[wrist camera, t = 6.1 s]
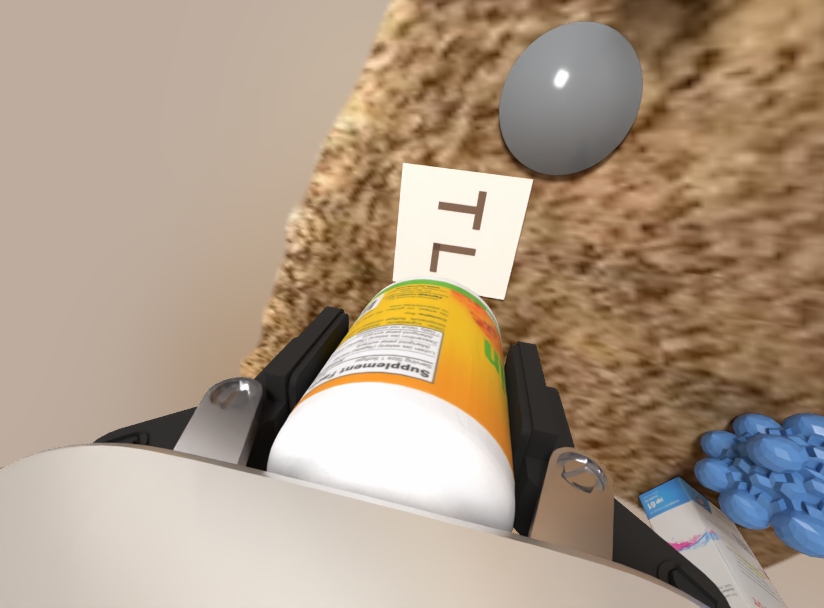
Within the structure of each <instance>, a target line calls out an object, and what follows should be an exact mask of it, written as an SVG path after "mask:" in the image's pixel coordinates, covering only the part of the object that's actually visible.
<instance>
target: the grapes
mask: <svg viewBox="0 0 824 608" xmlns="http://www.w3.org/2000/svg"><path fill="white" fill-rule="evenodd" d="M732 427H733V430H734V432H735V434H736V435H735V434H732V433H730V432H727V431H718V430H713V431H709V432H707V433H705V434H704V435H702V438H701V440H700V443H701V446H702V449H703V451H704V452H705V453H706V454H707V455H708V456H709V457H710V458H704V459H701V460H700V461H698V462H696V464H695V467H694V472H695V476H696V479H697V480H698V481H699V482H700V483H701V484H702V485H703V486H704V487H706V488H708V489H710V490H712V491H715V492H719V493H720V495H719V497H718V502H719V505H720V508H721V511H722V513H723V514H724V515H725V516H726V517H727V518H728V519H729V520H730V521H732V522H734V523H736V524H738V525H740V526H742V527H745V528H748V529H755V530H761V529H765V528H768V527H769V526H771V525H772V526H773V529H774V532H775V534H776V536H777V537H778V538H779V539H780V540H782V541H783V542H784V543H785V544H786V545H787V546H788V547H790V548H792V549H794V550H796V551H798V552H800V553H803V554H805V555H808V556H811V557H818V558H824V417H823V416H820V415H817V414H812V413H798V414H794V415H792V416H790V417H788V418H786V419H784V421H783V424H782V426H781V425H780V424H779V423H777V422H776V421H775V420H773V419H772V418H771V417H768V416H765V415H762V414H752V413H749V414H743V415H740V416H739V417H737V418H735V419H734V421H733V424H732Z"/></svg>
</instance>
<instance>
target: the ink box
mask: <svg viewBox="0 0 824 608" xmlns="http://www.w3.org/2000/svg"><path fill="white" fill-rule="evenodd" d="M639 498H640V501H641V503H642V505H643V508H644V510H645V513H646V515H647V517H648V520H649V522H650V525H651V527H652V530H653V531H654V532H655V533H657V534H658V535H659V536H660V537H661V538H663V539H664V540H665V541H666V542H667V543H669V544H670V545H671V546H672V547H673V548H675V549H676V550H677V551H678V552H679V553H681V554H682V555H683V556H684V557H685V558H687V559H688V560H689V561H690V562H691V563H693V564H694V565H695V566H696V567H697V568H699V569H700V570H701V571H702V572H703V573H704V574H705V575H706V576H707V577H708V578H709V579H711V580H712V581H713V582H714V583H715V584H716V586H717V587H718V588H719V590H720V591H721V592H722V593H723V595H724V596H725V597H726V599H727V601H728V603H729V605H730V607H731V608H787V607H786V605H785V603H784V602H783V600H782V599H781V597H780V595H779V594H778V592H777V591H776V589H775V587H774V586H773V584H772V583H771V581H770V579H769V578H768V576H767V575H766V573H765V572H764V570H763V569H762V567H761V565H760V564H759V562H758V561H757V559H756V557H755V556H754V554H753V553H752V551H751V550H750V548H749V546H748V545H747V543H746V542H745V540H744V539H743V537H742V535H741V534H740V532H739V531H738V529H737V527H736V526H735V524H734V522H732V521H730V520H729V519H728V518H727V517H726V516H725V515H724V514H723V513H722V511H721V510H720V509H718V508H717V507H716V506H715V505H713V504H712V503H711V502H710V501H708V500H707V499H706V498H705V497H704V496H702V495H701V494H700V493H699V492H697V491H696V490H695V489H694V488H693V487H691V486H690V485H689V484H688V483H686V482H685V481H684V480H683V479H681V478H680V477H676V478H674V479H672V480H670V481H668V482H666V483H664V484H662V485H660V486H658V487H656V488H654V489H652V490H650V491H648V492H646V493H644V494H642V495H640V496H639Z"/></svg>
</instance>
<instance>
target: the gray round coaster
mask: <svg viewBox="0 0 824 608" xmlns="http://www.w3.org/2000/svg"><path fill="white" fill-rule="evenodd" d="M642 89H643V79H642V70H641V66H640V62H639V59H638V57H637V54H636V52H635V50H634V49H633V47H632V46H631V44H630V43H629V42H628V41H627V39H626V38H625V37H624V36H623V35H621V34H620V33H619V32H618V31H616V30H614V29H612V28H611V27H609V26H606V25H603V24H600V23H594V22H575V23H569V24H566V25H562V26H559V27H557V28H555V29H553V30H550V31H549V32H547V33H545V34H544V35H542V36H540V37H539V38H538V39H537V40H535V41H534V42H533V43H532V44H531V45H530V46H529V47H528V48H527V49H526V50H525V51H524V52H523V53H522V54H521V56H520V57H519V58H518V59H517V61H516V62H515V64H514V66H513V67H512V69H511V71H510V73H509V75H508V77H507V79H506V82H505V84H504V87H503V90H502V94H501V98H500V106H499V121H500V128H501V132H502V136H503V138H504V141H505V143H506V145H507V147H508V149H509V150H510V152H511V153H512V154H513V156H514V157H515V158H516V159H517V160H518V161H519V162H521V163H522V164H523V165H525V166H526V167H528V168H530V169H532V170H534V171H537V172H539V173H543V174H548V175H567V174H572V173H576V172H579V171H582V170H585V169H587V168H589V167H591V166H593V165H595V164H597V163H598V162H600V161H601V160H603V159H604V158H605V157H607V156H608V155H609V154H610V153H611V152H612V151H613V150H614V149H615V148H616V147H617V146H618V145H619V144H620V143H621V142H622V140H623V139H624V138H625V136H626V135H627V133H628V132H629V130H630V128H631V126H632V124H633V123H634V120H635V118H636V115H637V113H638V110H639V106H640V103H641V97H642Z"/></svg>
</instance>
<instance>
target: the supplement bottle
mask: <svg viewBox="0 0 824 608" xmlns="http://www.w3.org/2000/svg"><path fill="white" fill-rule="evenodd" d="M267 472H270V473H275V474H279V475H283V476H287V477H291V478H295V479H299V480H303V481H307V482H312V483H316V484H320V485H324V486H328V487H332V488H336V489H340V490H344V491H348V492H352V493H356V494H360V495H364V496H368V497H372V498H376V499H380V500H384V501H388V502H392V503H396V504H400V505H404V506H408V507H412V508H416V509H420V510H424V511H428V512H432V513H436V514H440V515H444V516H448V517H452V518H455V519H459V520H463V521H467V522H471V523H475V524H479V525H483V526H487V527H491V528H495V529H499V530H503V531H506V532H510V533H511V532H512V530H513V524H514V518H515V479H514V471H513V460H512V449H511V437H510V426H509V415H508V401H507V393H506V383H505V372H504V361H503V350H502V341H501V335H500V330H499V326H498V323H497V321H496V318H495V316H494V315H493V313H492V311H491V310H490V308H489V307H488V305H487V304H486V303H485V302H484V301H483V300H482V299H481V298H480V297H479V296H478V295H477V294H476V293H475V292H473V291H472V290H470V289H469V288H467V287H466V286H464V285H462V284H460V283H457V282H455V281H452V280H449V279H446V278H441V277H434V276H415V277H409V278H406V279H402V280H400V281H397V282H395V283H393V284H391V285H389V286H387V287H386V288H384V289H383V290H382V291H380V292H379V293H378V294H377V295H376V296H375V297H374V298H373V299H372V300H371V302H370V303H369V304H368V305H367V306H366V308H365V309H364V310H363V312H362V313H361V315H360V316H359V318H358V319H357V321H356V322H355V323H354V325H353V326H352V328H351V329H350V331H349V332H348V333H347V335H346V336H345V337H344V339H343V340H342V342H341V343H340V345H339V346H338V347H337V348H336V350H335V351H334V353H333V354H332V355H331V357H330V358H329V360H328V361H327V363H326V364H325V366H324V367H323V368H322V370H321V371H320V373H319V374H318V376H317V377H316V379H315V380H314V381H313V383H312V384H311V386H310V387H309V388H308V390H307V391H306V393H305V394H304V395H303V397H302V398H301V400H300V401H299V403H298V404H297V405H296V407H295V408H294V409H293V411H292V412H291V414H290V415H289V417H288V418H287V420H286V422H285V423H284V425H283V427H282V428H281V430H280V431H279V433H278V435H277V437H276V439H275V441H274V443H273V445H272V448H271V451H270V454H269V459H268V463H267Z"/></svg>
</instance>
